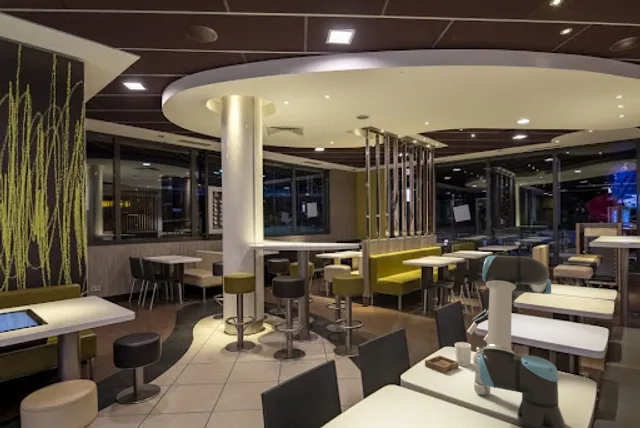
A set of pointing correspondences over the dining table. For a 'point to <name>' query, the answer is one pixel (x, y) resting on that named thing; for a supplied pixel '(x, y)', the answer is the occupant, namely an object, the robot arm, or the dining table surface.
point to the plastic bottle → (478, 385)
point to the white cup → (463, 353)
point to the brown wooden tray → (441, 364)
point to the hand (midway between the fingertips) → (477, 337)
